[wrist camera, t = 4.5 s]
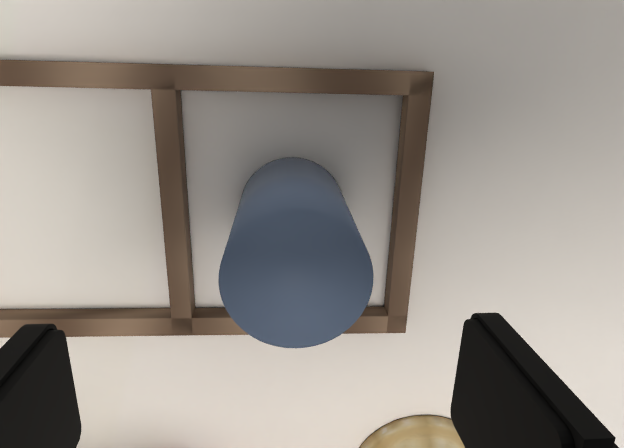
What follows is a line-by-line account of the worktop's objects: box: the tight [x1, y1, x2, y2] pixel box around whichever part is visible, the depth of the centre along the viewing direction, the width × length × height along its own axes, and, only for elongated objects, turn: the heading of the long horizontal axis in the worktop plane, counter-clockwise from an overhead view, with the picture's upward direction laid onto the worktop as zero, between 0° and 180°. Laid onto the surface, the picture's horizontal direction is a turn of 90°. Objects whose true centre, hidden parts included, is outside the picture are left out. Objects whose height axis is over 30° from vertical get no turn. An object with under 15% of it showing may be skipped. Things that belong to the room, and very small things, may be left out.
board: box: [0, 60, 434, 337], centre depth 21 cm, size 34×13×1 cm, turn 89°
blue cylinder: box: [219, 157, 373, 348], centre depth 18 cm, size 5×5×8 cm
